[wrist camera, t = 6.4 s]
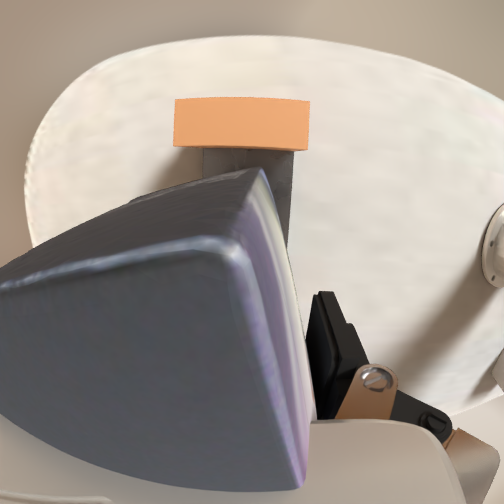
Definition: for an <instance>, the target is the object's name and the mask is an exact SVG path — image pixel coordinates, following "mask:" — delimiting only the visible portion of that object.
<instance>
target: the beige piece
mask: <svg viewBox="0 0 504 504" xmlns="http://www.w3.org/2000/svg"><path fill="white" fill-rule="evenodd" d="M492 376H493V377H494V379H495V380H496V382H497V383H498V385H499V386H500V387H501V389H502V390H503V392H504V349H503V351H502V352H501V354H500V356H499V358H498V360H497V362H496V364H495V366H494V368H493V370H492Z"/></svg>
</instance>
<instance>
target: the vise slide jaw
mask: <svg viewBox="0 0 504 504" xmlns="http://www.w3.org/2000/svg"><path fill="white" fill-rule="evenodd" d="M309 110H310V101H301V100H290V99H276V98H254V97H210V98H189V99H175V113H174V139H173V146H179V147H196V148H247V149H269V150H285V151H302V150H308V133H309Z"/></svg>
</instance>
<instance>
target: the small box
mask: <svg viewBox="0 0 504 504" xmlns="http://www.w3.org/2000/svg"><path fill="white" fill-rule="evenodd" d="M0 414H1V415H3V416H4V417H5V418H7V419H8V420H9V421H11V422H12V423H14V424H15V425H17V426H18V427H20V428H21V429H23V430H24V431H26V432H28V433H29V434H31V435H33V436H34V437H36V438H38V439H40V440H41V441H43V442H45V443H47V444H49V445H50V446H52V447H54V448H56V449H58V450H60V451H62V452H64V453H66V454H69V455H71V456H73V457H75V458H78V459H80V460H83V461H85V462H88V463H90V464H93V465H96V466H98V467H101V468H104V469H107V470H110V471H113V472H116V473H120V474H123V475H127V476H130V477H134V478H138V479H142V480H146V481H151V482H155V483H160V484H165V485H170V486H176V487H183V488H191V489H199V490H210V491H225V492H274V491H289V490H295V489H298V488H300V487H301V486H302V485H304V482H305V479H306V471H307V460H308V446H309V428H310V422H311V420H317V413H316V406H315V399H314V392H313V385H312V378H311V372H310V365H309V359H308V353H307V347H306V342H305V336H304V331H303V326H302V320H301V315H300V310H299V305H298V300H297V294H296V290H295V285H294V280H293V275H292V271H291V266H290V262H289V258H288V253H287V248H286V244H285V240H284V236H283V231H282V228H281V224H280V220H279V216H278V213H277V209H276V205H275V202H274V199H273V195H272V192H271V189H270V186H269V183H268V181H267V178H266V175H265V172H264V170H263V169H262V168H261V167H252V168H248V169H242V170H238V171H233V172H228V173H223V174H220V175H216V176H212V177H208V178H203V179H200V180H196V181H192V182H188V183H185V184H181V185H177V186H174V187H170V188H167V189H163V190H159V191H156V192H153V193H150V194H147V195H144V196H140V197H137V198H135V199H133V200H131V201H130V202H129V203H128V204H125V205H122V206H120V207H118V208H115V209H113V210H110V211H108V212H106V213H104V214H102V215H100V216H98V217H95V218H93V219H91V220H89V221H86V222H85V223H82V224H80V225H78V226H76V227H74V228H72V229H70V230H68V231H66V232H64V233H62V234H60V235H58V236H56V237H54V238H52V239H50V240H48V241H46V242H44V243H42V244H40V245H39V246H37V247H35V248H33V249H31V250H30V251H28V252H27V253H25V254H24V255H22V256H20V257H18V258H16V259H14V260H12V261H11V262H9V263H8V264H6V265H4V266H3V267H1V268H0Z"/></svg>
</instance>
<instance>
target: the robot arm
mask: <svg viewBox="0 0 504 504" xmlns="http://www.w3.org/2000/svg"><path fill="white" fill-rule="evenodd" d="M482 268H483V273H484V276H485V278H486V280H487V281H488V282H489V283H490V284H492V285H493V286H495V287H497V288H500V287H504V204H503V205H502V206H501V207H500V208H499V209H498V211H497V212H496V214H495V215H494V217H493V218H492V220H491V222H490V225H489V227H488V230H487V233H486V236H485V240H484V244H483V250H482ZM305 342H306V347H307V353H308V359H309V365H310V372H311V378H312V385H313V392H314V399H315V406H316V413H317V420H311V422H310V428H309V446H308V460H307V471H306V479H305V482H304V485H302V486H301V487H300V488H298V489H295V490H289V491H274V492H225V491H210V490H199V489H191V488H183V487H176V486H170V485H165V484H160V483H155V482H151V481H146V480H142V479H138V478H134V477H130V476H127V475H123V474H120V473H116V472H113V471H110V470H107V469H104V468H101V467H98V466H96V465H93V464H90V463H88V462H85V461H83V460H80V459H78V458H75V457H73V456H71V455H69V454H66V453H64V452H62V451H60V450H58V449H56V448H54V447H52V446H50V445H49V444H47V443H45V442H43V441H41V440H40V439H38V438H36V437H34V436H33V435H31V434H29V433H28V432H26V431H24V430H23V429H21V428H20V427H18V426H17V425H15V424H14V423H12V422H11V421H9V420H8V419H7V418H5V417H4V416H3V415H1V414H0V504H482V503H483V501H484V499H485V496H486V495H487V493H488V490H489V488H490V486H491V484H492V482H493V479H494V477H495V475H496V472H497V470H498V467H499V463H500V456H499V453H498V452H497V450H496V449H495V448H493V447H492V446H490V445H488V444H486V443H485V442H483V441H481V440H479V439H477V438H476V437H474V436H472V435H470V434H468V433H467V432H465V431H463V430H461V429H460V428H458V429H457V430H454V429H452V422H451V420H450V418H449V417H448V416H447V415H446V414H445V413H444V412H442V411H440V410H438V409H436V408H434V407H432V406H430V405H428V404H425V403H423V402H421V401H419V400H417V399H415V398H413V397H411V396H409V395H407V394H405V393H403V392H401V391H399V390H397V387H398V379H397V377H396V375H395V374H394V372H393V371H392V370H390V369H389V368H387V367H385V366H382V365H378V364H369V361H368V359H367V356H366V354H365V351H364V349H363V347H362V344H361V342H360V339H359V337H358V335H357V332H356V330H355V328H354V326H353V324H351V323H346V321H345V318H344V316H343V313H342V311H341V309H340V306H339V304H338V301H337V299H336V297H335V294H334V292H330V291H319V292H318V295H313V300H312V306H311V312H310V317H309V323H308V329H307V334H306V339H305Z"/></svg>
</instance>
